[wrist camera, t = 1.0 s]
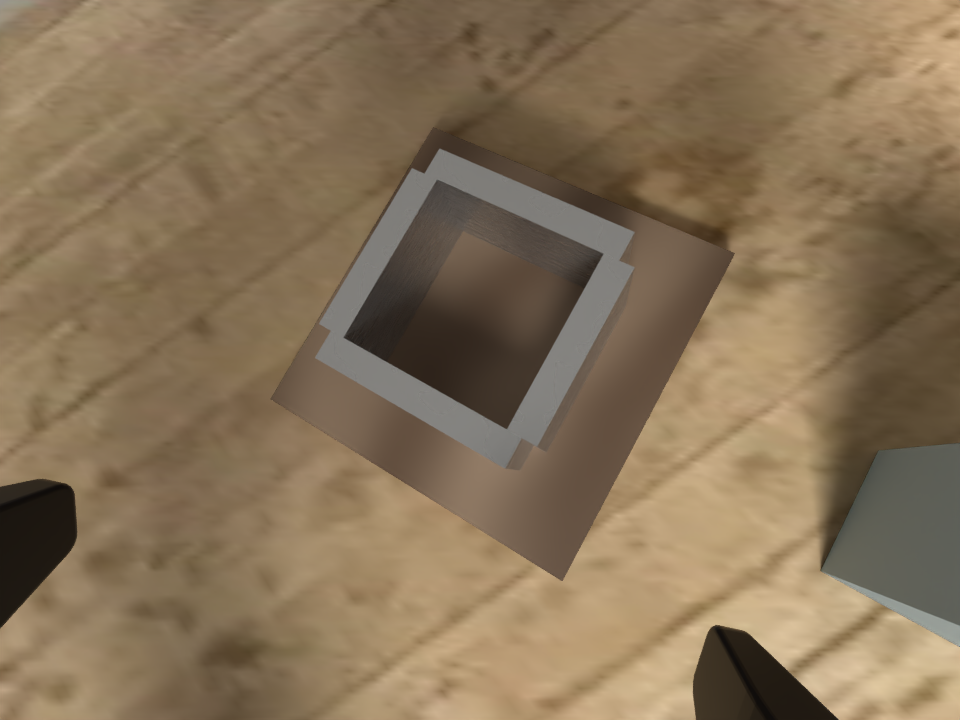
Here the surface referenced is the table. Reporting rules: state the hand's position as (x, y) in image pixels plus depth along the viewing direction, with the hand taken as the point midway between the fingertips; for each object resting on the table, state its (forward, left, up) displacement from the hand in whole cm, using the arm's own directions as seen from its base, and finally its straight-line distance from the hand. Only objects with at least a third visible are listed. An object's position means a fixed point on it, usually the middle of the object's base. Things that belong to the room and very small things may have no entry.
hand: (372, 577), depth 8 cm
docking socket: (+7, -1, -13) cm, 15 cm away
